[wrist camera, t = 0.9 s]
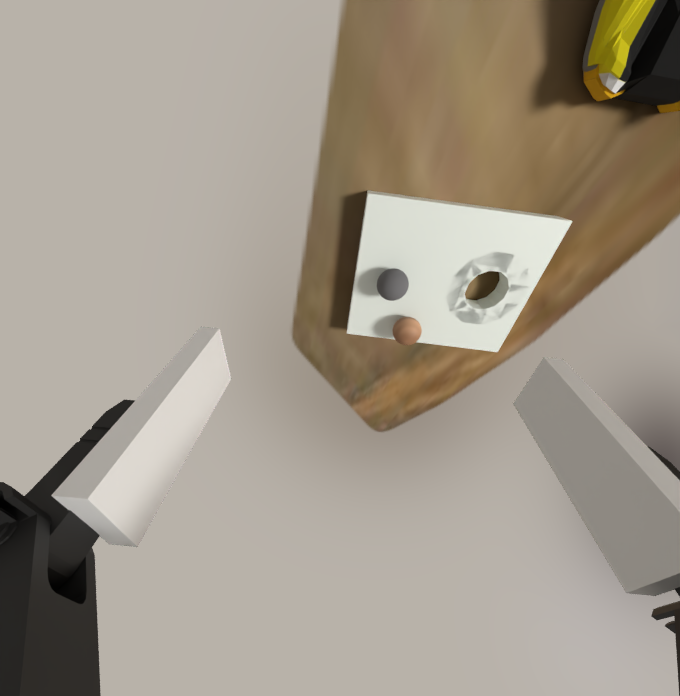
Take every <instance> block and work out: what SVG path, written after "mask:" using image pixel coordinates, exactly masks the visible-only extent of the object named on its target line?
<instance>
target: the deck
mask: <svg viewBox="0 0 680 696" xmlns="http://www.w3.org/2000/svg"><path fill="white" fill-rule="evenodd" d="M571 223H572V221H571V220H568V219H564V218H561V217H558V216H552V215H545V214H538V213H530V212H523V211H516V210H508V209H501V208H494V207H486V206H479V205H471V204H464V203H457V202H449V201H442V200H435V199H427V198H420V197H413V196H405V195H398V194H391V193H383V192H376V191H368V190H367V196H366V203H365V209H364V216H363V223H362V229H361V236H360V243H359V250H358V256H357V263H356V270H355V276H354V283H353V290H352V296H351V303H350V310H349V316H348V323H347V334H355V335H363V336H372V337H380V338H388V339H395V338H394V336H393V326H394V324H395V322H396V321H397V320H399V319H400V318H402V317H412V318H414V319H416V320H417V321H418V322H419V323H420V325H421V328H422V333H421V336H420V338H419V340H418V341H417V342H420V343H428V344H436V345H444V346H453V347H461V348H469V349H477V350H485V351H493V352H498V351H499V349H500V347H501V345H502V344H503V342H504V340H505V338H506V337H507V335H508V333H509V331H510V330H511V328H512V326H513V324H514V323H515V321H516V319H517V317H518V316H519V314H520V312H521V310H522V309H523V307H524V305H525V303H526V302H527V300H528V298H529V296H530V295H531V293H532V291H533V289H534V288H535V286H536V284H537V282H538V281H539V279H540V277H541V276H542V274H543V272H544V270H545V269H546V267H547V265H548V263H549V262H550V260H551V258H552V256H553V255H554V253H555V251H556V249H557V248H558V246H559V244H560V242H561V241H562V239H563V237H564V235H565V234H566V232H567V230H568V228H569V227H570V225H571ZM391 268H396V269H399V270H401V271H403V272H404V273H405V274H406V276H407V278H408V281H409V287H408V290H407V292H406V294H405V295H404V296H403V297H402V298H400V299H398V300H394V301H389V300H386V299H384V298H383V297H381V296H380V294H379V293H378V290H377V280H378V278H379V276H380V275H381V273H382V272H384V271H385V270H387V269H391ZM488 271H496V272H499V282H498V284H497V286H496V288H495V290H494V291H493V292H491V293H490V294H489V295H488V296H487V297H484V298H481V299H478V300H470V299H466V298H465V291H466V289H467V287H468V284H469V283H470V282H471V281H472V280H473V279H474V278H475V277H476V276H477V275H479V274H482V273H485V272H488Z"/></svg>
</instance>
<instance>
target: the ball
mask: <svg viewBox="0 0 680 696" xmlns="http://www.w3.org/2000/svg"><path fill="white" fill-rule="evenodd" d="M408 287H409V281H408V278H407V276H406V274H405V273H404V272H403V271H401V270H399V269H396V268H391V269H387V270H385V271H384V272H382V273H381V275H380V276H379V278H378V280H377V290H378V293H379V294H380V296H381V297H383V298H384V299H386V300H389V301H394V300H398V299H400V298H402V297H403V296H404V295H405V294H406V292H407V290H408Z"/></svg>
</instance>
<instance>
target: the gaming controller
mask: <svg viewBox="0 0 680 696" xmlns="http://www.w3.org/2000/svg"><path fill="white" fill-rule="evenodd" d="M582 69H583V76H584V83H585V85H586V87H587V88H588V90H589V92H590V93H591V95H592V97H593V98H594V99H595V100H596V101H601V100H606V99H610V98H617V99H622V100H628V101H633V102H638V103H644V104H649V105H654V106H657V107H658V110H659V112H660V113H666V112H674V111H680V0H600V1H599V3H598V6H597V8H596V11H595V14H594V18H593V21H592V25H591V29H590V33H589V37H588V41H587V45H586V49H585V53H584V57H583V67H582Z"/></svg>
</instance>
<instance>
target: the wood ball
mask: <svg viewBox="0 0 680 696" xmlns="http://www.w3.org/2000/svg"><path fill="white" fill-rule="evenodd" d="M421 333H422V328H421V325H420V323H419V322H418V321H417V320H416V319H414V318H412V317H402V318H400V319H399V320H397V321H396V322H395V324H394V326H393V336H394V338H395V340H396V341H397V342H399V343H400V344H403V345H411V344H414V343H415V342H417V341H418V340H419V338H420V336H421Z"/></svg>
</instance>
